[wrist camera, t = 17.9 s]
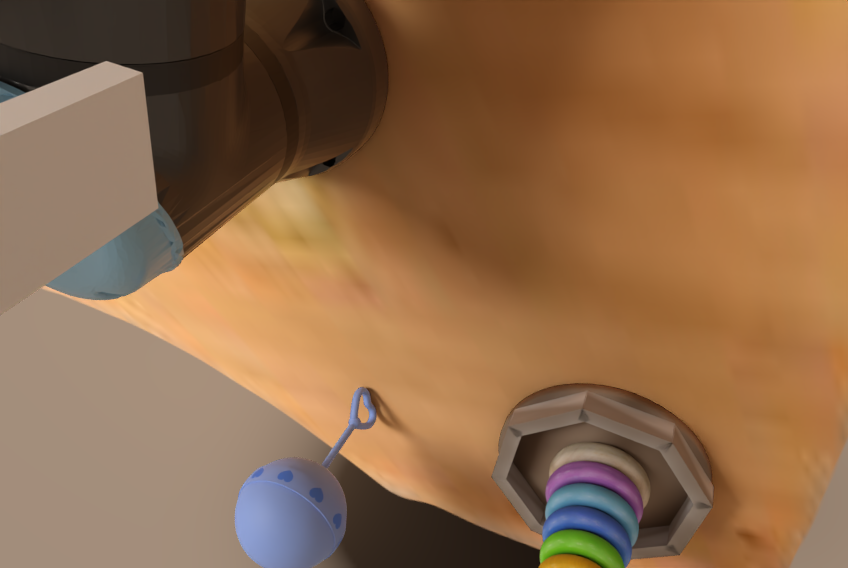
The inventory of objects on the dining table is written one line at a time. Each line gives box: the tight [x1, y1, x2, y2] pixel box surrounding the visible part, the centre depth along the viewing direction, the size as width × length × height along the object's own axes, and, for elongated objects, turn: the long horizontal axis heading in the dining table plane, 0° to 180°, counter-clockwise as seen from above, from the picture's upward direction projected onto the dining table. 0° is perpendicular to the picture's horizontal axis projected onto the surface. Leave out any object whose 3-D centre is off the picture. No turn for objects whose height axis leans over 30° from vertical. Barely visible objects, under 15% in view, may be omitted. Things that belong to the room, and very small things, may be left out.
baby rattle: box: [235, 387, 376, 568], centre depth 56 cm, size 9×9×18 cm
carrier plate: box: [491, 384, 714, 559], centre depth 56 cm, size 17×17×3 cm
